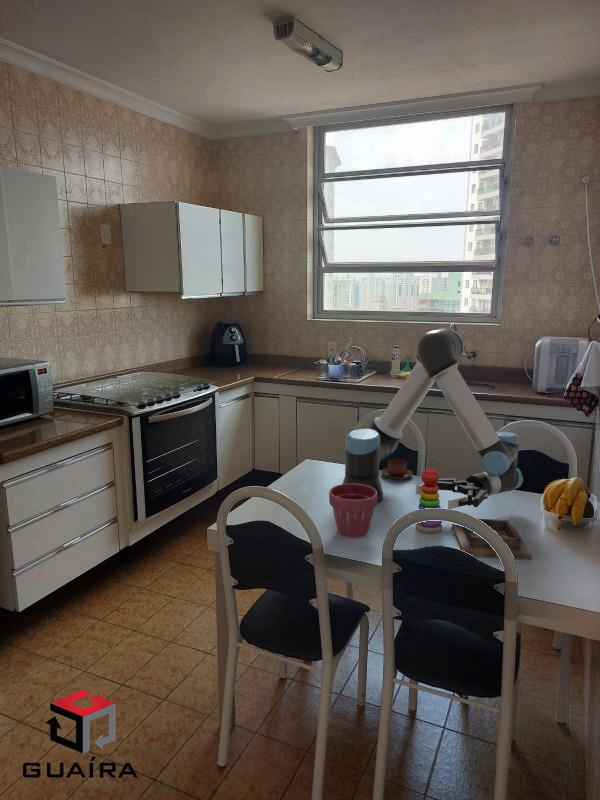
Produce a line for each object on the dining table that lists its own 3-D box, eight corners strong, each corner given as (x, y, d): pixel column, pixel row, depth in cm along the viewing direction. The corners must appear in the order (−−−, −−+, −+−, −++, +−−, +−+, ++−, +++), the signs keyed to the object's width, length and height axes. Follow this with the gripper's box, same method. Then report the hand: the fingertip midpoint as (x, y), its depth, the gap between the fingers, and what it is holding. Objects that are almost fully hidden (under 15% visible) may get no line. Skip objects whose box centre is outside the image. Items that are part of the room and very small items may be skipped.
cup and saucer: (386, 470, 223) (386, 455, 222) (415, 474, 218) (416, 459, 217) (377, 479, 213) (377, 463, 211) (407, 483, 208) (408, 467, 206)
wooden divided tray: (463, 556, 150) (464, 540, 149) (451, 528, 168) (452, 514, 167) (531, 559, 148) (533, 543, 147) (513, 531, 166) (514, 517, 165)
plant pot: (320, 534, 163) (320, 493, 161) (342, 518, 175) (342, 480, 173) (364, 546, 156) (365, 503, 153) (384, 528, 168) (385, 488, 165)
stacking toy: (444, 526, 169) (447, 467, 166) (439, 536, 162) (442, 475, 158) (418, 522, 172) (421, 464, 169) (412, 531, 165) (415, 472, 162)
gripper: (514, 509, 165) (463, 523, 155) (452, 484, 187) (404, 495, 176) (516, 485, 164) (464, 498, 154) (454, 463, 185) (405, 473, 175)
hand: (432, 497), depth 165 cm, fingers open, 13 cm apart
